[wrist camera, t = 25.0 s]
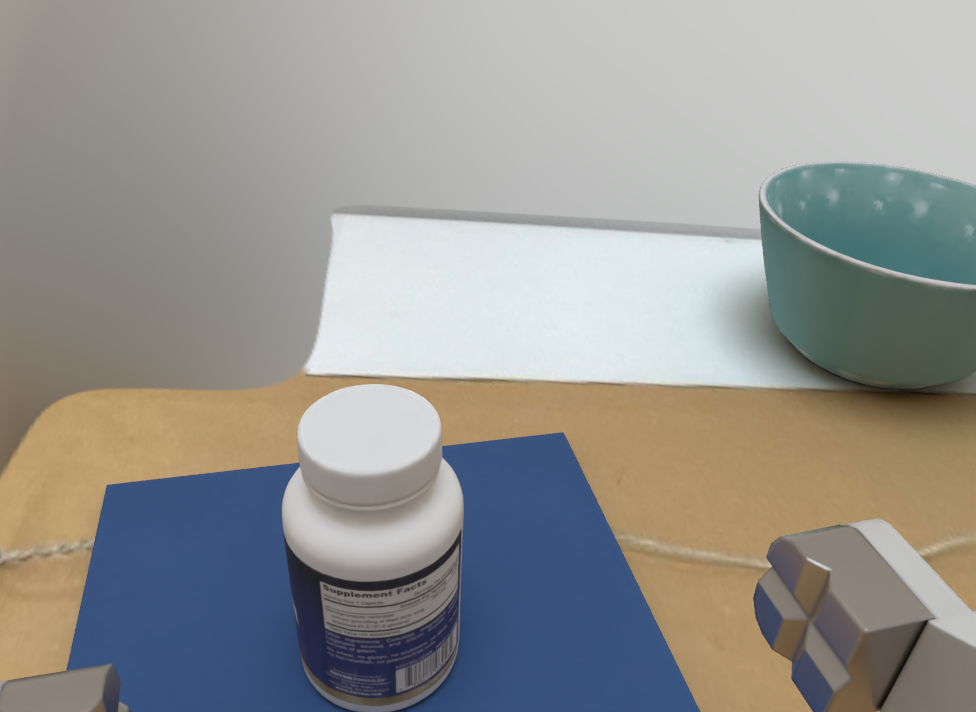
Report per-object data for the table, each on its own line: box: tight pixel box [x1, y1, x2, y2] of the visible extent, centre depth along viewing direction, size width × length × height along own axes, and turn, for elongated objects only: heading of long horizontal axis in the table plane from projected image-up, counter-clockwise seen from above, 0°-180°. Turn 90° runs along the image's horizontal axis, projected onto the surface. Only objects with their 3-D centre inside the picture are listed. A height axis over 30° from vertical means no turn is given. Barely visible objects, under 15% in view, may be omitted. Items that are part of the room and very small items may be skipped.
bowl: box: [759, 161, 976, 389], centre depth 45 cm, size 16×16×8 cm
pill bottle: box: [282, 384, 464, 712], centre depth 25 cm, size 5×5×10 cm
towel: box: [67, 432, 700, 712], centre depth 28 cm, size 20×20×1 cm
